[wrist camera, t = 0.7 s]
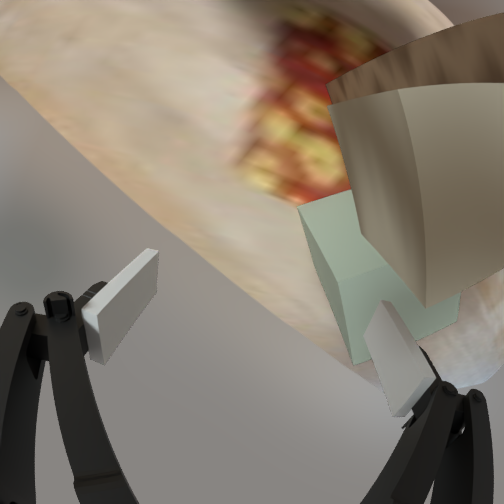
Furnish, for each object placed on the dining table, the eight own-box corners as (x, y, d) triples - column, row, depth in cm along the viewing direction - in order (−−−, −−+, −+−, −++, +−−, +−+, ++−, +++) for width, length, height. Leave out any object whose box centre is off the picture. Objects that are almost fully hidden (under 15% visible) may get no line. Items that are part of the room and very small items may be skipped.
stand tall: (325, 84, 30) (503, 12, 3) (404, 71, 29) (582, 53, 1) (347, 153, 34) (537, 238, 7) (422, 135, 33) (600, 188, 5)
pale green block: (296, 206, 38) (337, 282, 19) (374, 182, 36) (464, 233, 18) (314, 267, 42) (353, 365, 23) (385, 243, 40) (456, 321, 22)
